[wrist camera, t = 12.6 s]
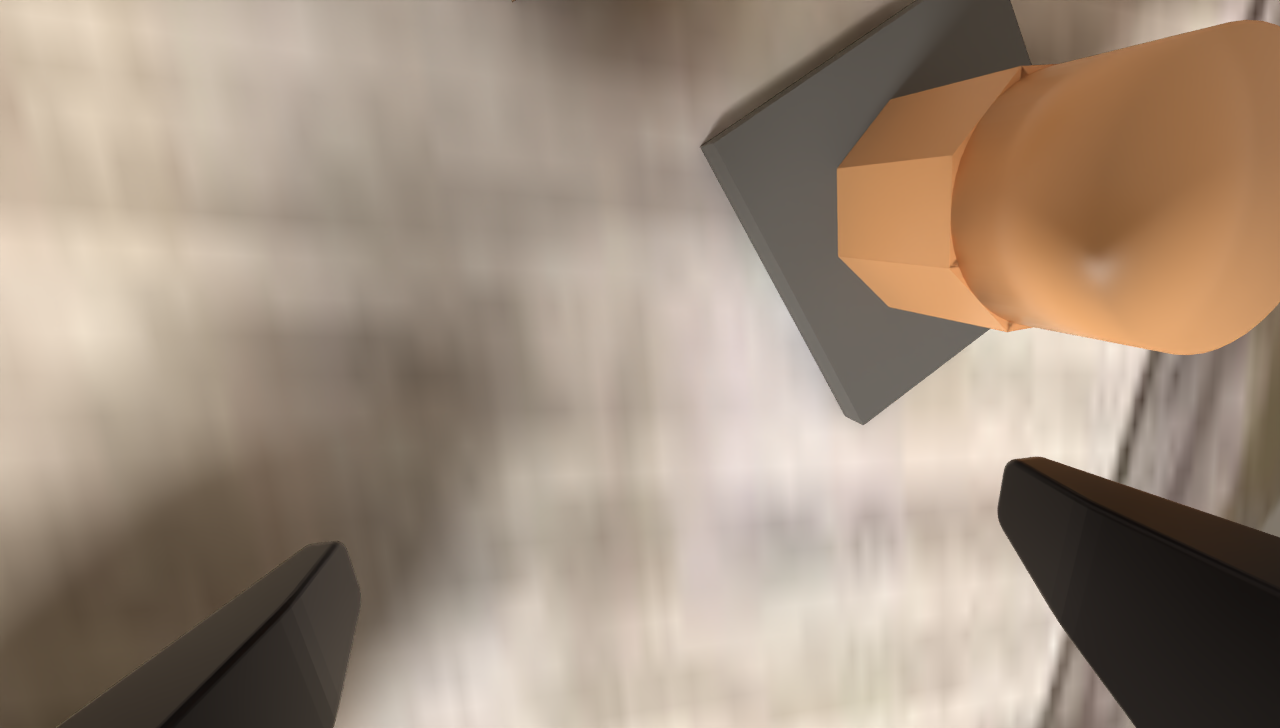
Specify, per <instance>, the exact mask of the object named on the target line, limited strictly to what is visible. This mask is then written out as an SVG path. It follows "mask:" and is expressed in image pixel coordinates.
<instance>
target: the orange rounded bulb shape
mask: <svg viewBox="0 0 1280 728" xmlns="http://www.w3.org/2000/svg"><path fill="white" fill-rule="evenodd" d="M837 219H838V257H839V258H840V259H841V260H842V261H843V262H844V263H845V264H846V265H847V266H848V267H849V268H850V269H851V270H852V271H853V272H854V273H855V274H856V275H857V276H858V277H859V278H860V279H861V280H862V281H863V282H864V283H865V284H866V285H867V286H868V287H869V288H870V289H871V290H872V291H873V292H874V293H875V294H876V295H877V296H878V297H879V298H880V299H881V300H882V301H883V302H884V303H885V304H886V305H887V306H888V307H891V308H896V309H901V310H905V311H910V312H915V313H920V314H924V315H929V316H934V317H939V318H943V319H948V320H953V321H957V322H962V323H967V324H972V325H976V326H981V327H986V328H991V329H995V330H1000V331H1005V332H1010V331H1015V330H1021V329H1027V328H1032V327H1035V328H1041V329H1046V330H1051V331H1056V332H1061V333H1066V334H1072V335H1077V336H1082V337H1087V338H1092V339H1097V340H1103V341H1108V342H1113V343H1118V344H1123V345H1128V346H1134V347H1139V348H1144V349H1149V350H1154V351H1159V352H1165V353H1170V354H1179V355H1192V354H1200V353H1205V352H1208V351H1212V350H1215V349H1218V348H1220V347H1223V346H1225V345H1227V344H1229V343H1231V342H1233V341H1235V340H1236V339H1238V338H1240V337H1241V336H1243V335H1244V334H1246V333H1247V332H1249V331H1250V330H1251V329H1252V328H1254V327H1255V326H1256V325H1257V324H1259V323H1260V322H1261V321H1262V320H1263V319H1264V318H1265V317H1266V316H1267V315H1268V314H1269V313H1270V312H1271V311H1272V310H1273V309H1274V308H1275V307H1276V306H1277V304H1278V303H1279V302H1280V26H1278V25H1275V24H1271V23H1268V22H1264V21H1255V20H1242V21H1234V22H1228V23H1224V24H1220V25H1216V26H1212V27H1208V28H1204V29H1200V30H1196V31H1192V32H1187V33H1183V34H1179V35H1175V36H1171V37H1167V38H1163V39H1159V40H1155V41H1151V42H1147V43H1142V44H1138V45H1134V46H1130V47H1126V48H1122V49H1118V50H1114V51H1110V52H1106V53H1102V54H1098V55H1093V56H1089V57H1085V58H1081V59H1077V60H1073V61H1069V62H1065V63H1061V64H1049V65H1030V66H1018V67H1015V68H1011V69H1007V70H1003V71H999V72H995V73H991V74H987V75H984V76H980V77H976V78H972V79H968V80H964V81H960V82H956V83H952V84H949V85H945V86H941V87H937V88H933V89H929V90H925V91H921V92H918V93H914V94H910V95H906V96H902V97H898V98H894V99H890V100H889V102H888V103H887V104H886V106H885V107H884V108H883V110H882V111H881V112H880V113H879V115H878V116H877V117H876V119H875V120H874V121H873V122H872V124H871V125H870V126H869V128H868V129H867V130H866V132H865V133H864V134H863V135H862V137H861V138H860V139H859V141H858V142H857V143H856V144H855V146H854V147H853V148H852V150H851V151H850V152H849V154H848V155H847V156H846V157H845V159H844V160H843V161H842V163H841V164H840V165H839V167H838V168H837Z"/></svg>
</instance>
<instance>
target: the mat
mask: <svg viewBox="0 0 1280 728" xmlns="http://www.w3.org/2000/svg"><path fill="white" fill-rule="evenodd" d="M1030 65H1031V62H1030V59H1029V56H1028V53H1027V50H1026V47H1025V44H1024V41H1023V38H1022V35H1021V32H1020V29H1019V26H1018V23H1017V20H1016V17H1015V14H1014V11H1013V8H1012V5H1011V2H1010V0H916V1H915V2H913V3H912V4H910V5H909V6H907V7H906V8H904V9H903V10H901V11H900V12H898V13H897V14H895V15H894V16H893V17H891V18H890V19H888V20H887V21H885V22H884V23H882V24H881V25H879V26H878V27H876V28H875V29H873V30H872V31H870V32H869V33H867V34H866V35H864V36H863V37H862V38H860V39H859V40H857V41H856V42H854V43H853V44H851V45H850V46H848V47H847V48H845V49H844V50H842V51H841V52H839V53H838V54H836V55H835V56H834V57H832V58H831V59H829V60H828V61H826V62H825V63H823V64H822V65H820V66H819V67H817V68H816V69H814V70H813V71H811V72H810V73H808V74H807V75H805V76H804V77H803V78H801V79H800V80H798V81H797V82H795V83H794V84H792V85H791V86H789V87H788V88H786V89H785V90H783V91H782V92H780V93H779V94H777V95H776V96H775V97H773V98H772V99H770V100H769V101H767V102H766V103H764V104H763V105H761V106H760V107H758V108H757V109H755V110H754V111H752V112H751V113H749V114H748V115H746V116H745V117H744V118H742V119H741V120H739V121H738V122H736V123H735V124H733V125H732V126H730V127H729V128H727V129H726V130H724V131H723V132H721V133H720V134H718V135H717V136H716V137H714V138H713V139H711V140H710V141H708V142H707V143H705V144H704V145H702V146H701V149H702V151H703V153H704V155H705V157H706V159H707V160H708V162H709V164H710V166H711V168H712V170H713V172H714V173H715V175H716V177H717V179H718V181H719V183H720V185H721V186H722V188H723V190H724V192H725V194H726V196H727V198H728V199H729V201H730V203H731V205H732V207H733V209H734V211H735V212H736V214H737V216H738V218H739V220H740V222H741V224H742V225H743V227H744V229H745V231H746V233H747V235H748V237H749V238H750V240H751V242H752V244H753V246H754V248H755V250H756V251H757V253H758V255H759V257H760V259H761V261H762V263H763V264H764V266H765V268H766V270H767V272H768V274H769V276H770V277H771V279H772V281H773V283H774V285H775V287H776V289H777V290H778V292H779V294H780V296H781V298H782V300H783V302H784V303H785V305H786V307H787V309H788V311H789V313H790V315H791V316H792V318H793V320H794V322H795V324H796V326H797V327H798V329H799V331H800V333H801V335H802V337H803V339H804V340H805V342H806V344H807V346H808V348H809V350H810V352H811V353H812V355H813V357H814V359H815V361H816V363H817V365H818V366H819V368H820V370H821V372H822V374H823V376H824V378H825V379H826V381H827V383H828V385H829V387H830V389H831V391H832V392H833V394H834V396H835V398H836V400H837V402H838V404H839V405H840V407H841V409H842V411H843V413H844V415H845V416H846V417H848V418H850V419H852V420H854V421H856V422H858V423H860V424H862V425H864V424H866V423H867V422H868V421H870V420H871V419H872V418H874V417H875V416H876V415H878V414H879V413H880V412H882V411H883V410H884V409H885V408H887V407H888V406H889V405H891V404H892V403H893V402H895V401H896V400H897V399H899V398H900V397H901V396H903V395H904V394H905V393H906V392H908V391H909V390H910V389H912V388H913V387H914V386H916V385H917V384H918V383H920V382H921V381H922V380H923V379H925V378H926V377H927V376H929V375H930V374H931V373H933V372H934V371H935V370H937V369H938V368H939V367H941V366H942V365H943V364H944V363H946V362H947V361H948V360H950V359H951V358H952V357H954V356H955V355H956V354H958V353H959V352H960V351H962V350H963V349H964V348H965V347H967V346H968V345H969V344H971V343H972V342H973V341H975V340H976V339H977V338H979V337H980V336H981V335H983V334H984V333H985V332H986V331H988V330H989V329H990V328H986V327H981V326H976V325H972V324H967V323H962V322H957V321H953V320H948V319H943V318H939V317H934V316H929V315H924V314H920V313H915V312H910V311H905V310H901V309H896V308H891V307H888V306H887V305H886V304H885V303H884V302H883V301H882V300H881V299H880V298H879V297H878V296H877V295H876V294H875V293H874V292H873V291H872V290H871V289H870V288H869V287H868V286H867V285H866V284H865V283H864V282H863V281H862V280H861V279H860V278H859V277H858V276H857V275H856V274H855V273H854V272H853V271H852V270H851V269H850V268H849V267H848V266H847V265H846V264H845V263H844V262H843V261H842V260H841V259H840V258H839V257H838V219H837V168H838V167H839V165H840V164H841V163H842V161H843V160H844V159H845V157H846V156H847V155H848V154H849V152H850V151H851V150H852V148H853V147H854V146H855V144H856V143H857V142H858V141H859V139H860V138H861V137H862V135H863V134H864V133H865V132H866V130H867V129H868V128H869V126H870V125H871V124H872V122H873V121H874V120H875V119H876V117H877V116H878V115H879V113H880V112H881V111H882V110H883V108H884V107H885V106H886V104H887V103H888V102H889V100H890V99H894V98H898V97H902V96H906V95H910V94H914V93H918V92H921V91H925V90H929V89H933V88H937V87H941V86H945V85H949V84H952V83H956V82H960V81H964V80H968V79H972V78H976V77H980V76H984V75H987V74H991V73H995V72H999V71H1003V70H1007V69H1011V68H1015V67H1018V66H1030Z"/></svg>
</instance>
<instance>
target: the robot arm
mask: <svg viewBox="0 0 1280 728" xmlns="http://www.w3.org/2000/svg"><path fill="white" fill-rule="evenodd" d="M998 519H999V522H1000V525H1001V527H1002V529H1003V531H1004V532H1005V534H1006V536H1007V537H1008V539H1009V541H1010V542H1011V544H1012V546H1013V547H1014V549H1015V551H1016V552H1017V554H1018V556H1019V557H1020V559H1021V561H1022V562H1023V564H1024V566H1025V567H1026V569H1027V571H1028V573H1029V574H1030V576H1031V578H1032V579H1033V581H1034V583H1035V584H1036V586H1037V588H1038V589H1039V591H1040V593H1041V594H1042V596H1043V598H1044V599H1045V601H1046V603H1047V604H1048V606H1049V608H1050V609H1051V611H1052V612H1053V614H1054V615H1055V617H1056V618H1057V620H1058V622H1059V623H1060V625H1061V626H1062V628H1063V629H1064V630H1065V632H1066V633H1067V635H1068V636H1069V637H1070V639H1071V640H1072V642H1073V643H1074V644H1075V646H1076V647H1077V648H1078V650H1079V651H1080V653H1081V654H1082V655H1083V657H1084V658H1085V659H1086V661H1087V662H1088V663H1089V665H1090V666H1091V667H1092V669H1093V670H1094V671H1095V673H1096V674H1097V676H1098V677H1099V678H1100V680H1101V681H1102V682H1103V684H1104V685H1105V686H1106V688H1107V689H1108V690H1109V692H1110V693H1111V694H1112V696H1113V697H1114V699H1115V700H1116V701H1117V703H1118V704H1119V705H1120V707H1121V708H1122V709H1123V711H1124V712H1125V713H1126V715H1127V716H1128V717H1129V719H1130V720H1131V722H1132V723H1133V724H1134V726H1135V727H1136V728H1280V538H1279V537H1277V536H1274V535H1270V534H1268V533H1265V532H1262V531H1259V530H1256V529H1253V528H1250V527H1247V526H1244V525H1241V524H1238V523H1235V522H1232V521H1229V520H1226V519H1224V518H1221V517H1218V516H1215V515H1212V514H1209V513H1206V512H1203V511H1200V510H1197V509H1194V508H1191V507H1188V506H1185V505H1182V504H1179V503H1176V502H1173V501H1170V500H1167V499H1164V498H1161V497H1159V496H1156V495H1153V494H1150V493H1147V492H1144V491H1141V490H1138V489H1135V488H1132V487H1129V486H1126V485H1123V484H1120V483H1117V482H1114V481H1111V480H1108V479H1105V478H1102V477H1099V476H1096V475H1094V474H1091V473H1088V472H1085V471H1082V470H1079V469H1076V468H1073V467H1070V466H1067V465H1064V464H1061V463H1058V462H1055V461H1052V460H1049V459H1046V458H1043V457H1029V458H1021V459H1013V460H1011V461H1009V462H1008V463H1007V465H1006V466H1005V469H1004V473H1003V479H1002V485H1001V491H1000V497H999V502H998ZM360 606H361V593H360V588H359V585H358V582H357V579H356V576H355V573H354V570H353V566H352V563H351V560H350V557H349V554H348V551H347V549H346V547H345V546H344V544H343V543H341V542H339V541H332V542H324V543H315V544H310V545H307V546H306V547H304V548H303V549H301V550H300V551H299V552H297V553H296V554H294V555H293V556H292V557H290V558H289V559H288V560H286V561H285V562H283V563H282V564H281V565H279V566H278V567H277V568H275V569H274V570H272V571H271V572H270V573H268V574H267V575H265V576H264V577H263V578H261V579H260V580H259V581H257V582H256V583H254V584H253V585H252V586H250V587H249V588H247V589H246V590H245V591H243V592H242V593H241V594H239V595H238V596H236V597H235V598H234V599H232V600H231V601H230V602H228V603H227V604H225V605H224V606H223V607H221V608H220V609H218V610H217V611H216V612H214V613H213V614H212V615H210V616H209V617H207V618H206V619H205V620H203V621H202V622H201V623H199V624H198V625H196V626H195V627H194V628H192V629H191V630H189V631H188V632H187V633H185V634H184V635H183V636H181V637H180V638H178V639H177V640H176V641H174V642H173V643H171V644H170V645H169V646H167V647H166V648H165V649H163V650H162V651H160V652H159V653H158V654H156V655H155V656H154V657H152V658H151V659H149V660H148V661H147V662H145V663H144V664H142V665H141V666H140V667H138V668H137V669H136V670H134V671H133V672H131V673H130V674H129V675H127V676H126V677H125V678H123V679H122V680H120V681H119V682H118V683H116V684H115V685H113V686H112V687H111V688H109V689H108V690H107V691H105V692H104V693H102V694H101V695H100V696H98V697H97V698H96V699H94V700H93V701H91V702H90V703H89V704H87V705H86V706H84V707H83V708H82V709H80V710H79V711H78V712H76V713H75V714H73V715H72V716H71V717H69V718H68V719H66V720H65V721H64V722H62V723H61V724H60V725H58V726H57V727H55V728H333V727H334V724H335V720H336V716H337V712H338V708H339V704H340V700H341V695H342V690H343V686H344V681H345V676H346V672H347V667H348V662H349V658H350V653H351V648H352V644H353V639H354V635H355V630H356V625H357V621H358V616H359V611H360Z"/></svg>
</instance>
